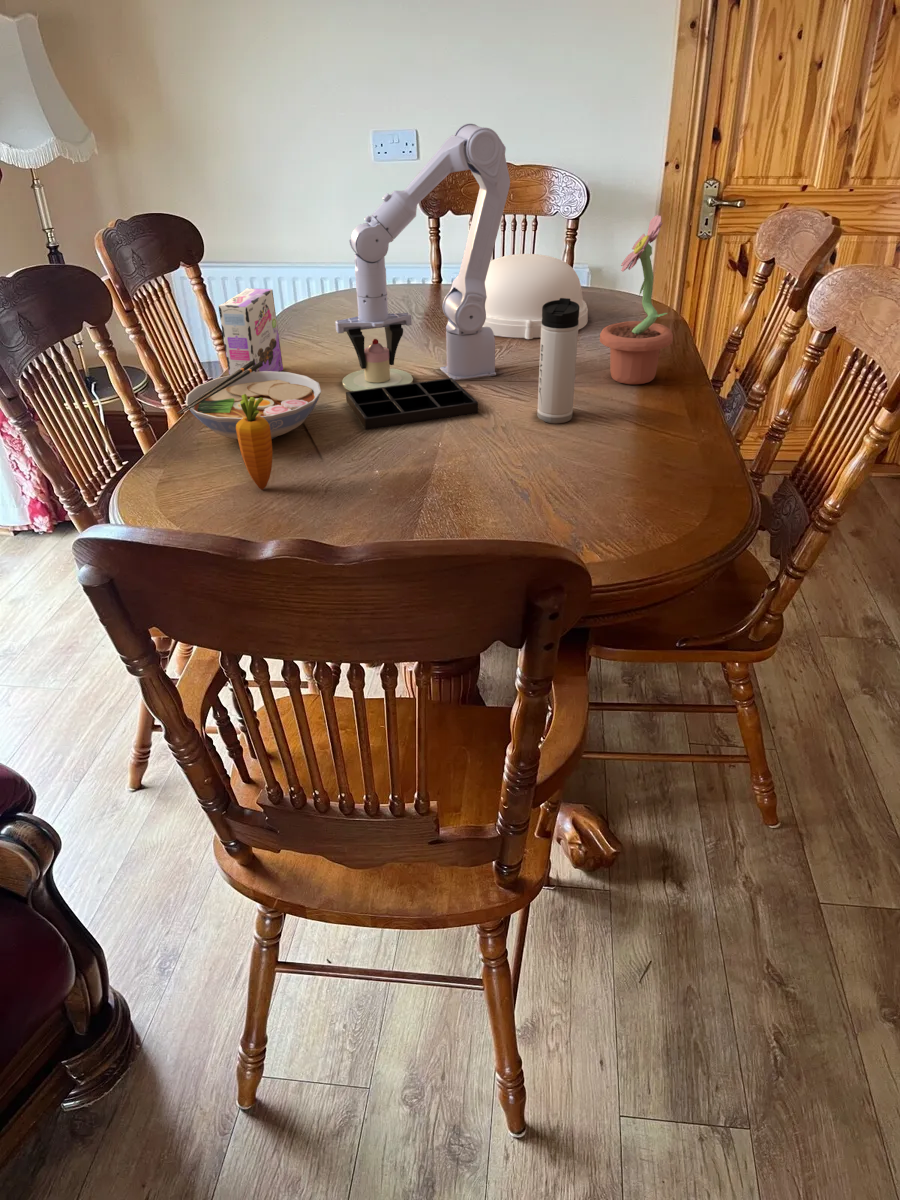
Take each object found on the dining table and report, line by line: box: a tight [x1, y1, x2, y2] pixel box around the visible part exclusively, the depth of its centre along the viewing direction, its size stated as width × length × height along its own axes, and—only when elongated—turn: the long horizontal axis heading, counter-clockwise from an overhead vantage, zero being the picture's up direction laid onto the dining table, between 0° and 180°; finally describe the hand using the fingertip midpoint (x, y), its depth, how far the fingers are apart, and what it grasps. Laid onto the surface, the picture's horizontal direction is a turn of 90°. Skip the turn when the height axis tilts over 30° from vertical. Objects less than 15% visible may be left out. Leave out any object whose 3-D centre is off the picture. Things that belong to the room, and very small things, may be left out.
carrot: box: [236, 394, 273, 491], centre depth 124 cm, size 5×5×15 cm
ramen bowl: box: [176, 361, 322, 440], centre depth 144 cm, size 25×23×8 cm
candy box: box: [217, 288, 284, 376], centre depth 165 cm, size 14×6×16 cm, turn 168°
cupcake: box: [363, 338, 391, 383], centre depth 164 cm, size 5×5×8 cm
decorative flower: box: [599, 214, 674, 385], centre depth 159 cm, size 15×14×30 cm
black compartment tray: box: [345, 377, 479, 431], centre depth 154 cm, size 14×21×2 cm
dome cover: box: [482, 253, 589, 340], centre depth 198 cm, size 32×30×14 cm
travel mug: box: [536, 298, 579, 425], centre depth 145 cm, size 6×7×20 cm
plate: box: [341, 367, 414, 392], centre depth 167 cm, size 14×14×1 cm
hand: (376, 365), depth 165 cm, fingers closed on cupcake, 5 cm apart
